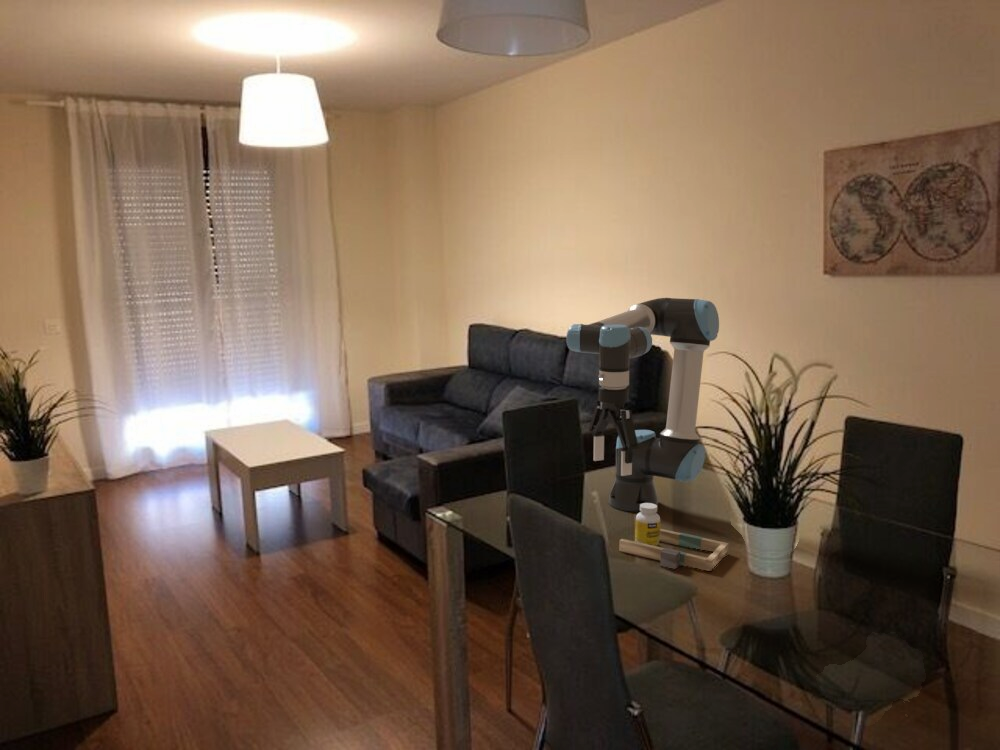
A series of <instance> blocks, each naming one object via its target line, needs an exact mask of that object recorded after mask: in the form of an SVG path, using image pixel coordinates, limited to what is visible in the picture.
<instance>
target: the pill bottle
mask: <svg viewBox="0 0 1000 750" xmlns="http://www.w3.org/2000/svg"><path fill="white" fill-rule="evenodd" d="M640 511H641V512H638V513H637V514H636V517H635V529H634V530H635V533H634V541H635V542H639V543H644V544H648V545H653V546H657V547H660V541H659V537H660V529H661V517H660V515H659V514H658V506H657V505H656V504H653V503H642V504H640Z"/></svg>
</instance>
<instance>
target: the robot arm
mask: <svg viewBox="0 0 1000 750" xmlns="http://www.w3.org/2000/svg"><path fill="white" fill-rule="evenodd" d="M719 331H720V319H719V313H718V310H717V307H716V306H715V304H714V303H713V302H712V301H710V300H705V299H699V298H696V299H695V298H694V299H693V298H674V297H672V298H671V297H658V298H653V299H650V300H646V301H643V302H640V303H636V304H634V305H633V306H630V308H629V309H628V310H627V311H624V312H620V313H619V314H615V315H613V316H610V317H609V316H608V317H606V318H603V319H601V320H598V321H596V322H592V323H589V324H583V323H579V324H578V323H573V324H572V325H570V326H569V328H568V330H567V332H566V336H565V337H566V346H567V348H568V349H569V350H570V351H572V352H576V353H580V354H583V353H584V354H596V355H598V356H599V360H598V361H599V362H598V364H599V365H598V366H599V367H598V371H599V372H598V373H599V374H598V384H599V387H598V399H597V400H595V405H594V410H593V413H592V417H591V420H590V423H589V427H588V431H589V432H590V433H591V435H592V436H593V453H592V454H593V460H592V461H594V462H597V461H604V460H605V457H604V456H605V435H604V434H605V430H606V429H607V427H608V425H609V424H612V426H613V427H614V428H615V429H616V432H617V435H618V436H617V437H616V446H615V475H614V476H615V479H614V482H613V485H612V488H611V490H610V493H609V495H608V496H609V498H608V504H609V505H610V506H611V507H613V508H615V509H617V510H621V511H625V512H634V513H635V512H638V513H640V512H641V511H640V504H642V503H653V504H656V505H657V507H658V506H659V496H658V493H657V490H656V485H655V483H654V477H658V478H661V479H662V478H664V479H668V480H674V481H676V482H686V483H690V482H693V481H695V480H696V479H697V478H698V477H699V475H700V473H701V471H702V469H703V465H704V462H705V460H706V459H705V458H706V448H705V446H704V445H702V444H701V443H700V435H698V433H697V432H696V428H697V416H698V408H699V407H698V406H699V401H700V400H699V399H700V388H701V382H702V381H701V378H702V371H703V362H704V354H705V351H706V350H707V349H708V348H709V347H711V346H710V343H711V342H712V341H715V340H716V339H717V338H718V334H719ZM652 336H660V337H661V336H662V337H668V338H669V344H670V345H671V347H673V360H672V368H671V378H670V387H669V395H668V404H667V405H668V407H667V414H666V425H665V428H664V429H663V430H662V431H661V432H660V433H659V437H656V432H655V431H653V430H650V429H635V424H634V420H633V412H632V409H627V410H626V409H625V404H627V403H628V402H629V398H630V396H629V395H630V394H629V393H630V392H629V391H630V388H629V385H630V359H635V358H639V357H642V356H644V355H645V354H646V353H648V352H650V349H651V348H652V345H653V337H652Z"/></svg>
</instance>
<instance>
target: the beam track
mask: <svg viewBox="0 0 1000 750" xmlns="http://www.w3.org/2000/svg"><path fill="white" fill-rule="evenodd" d="M659 542H662V543H666V544H671V545H675V546H679V547H684V548H688V547H689V549H693V548H696V549H695V550H697V549H701V550H700V551H702V550H708V551H714V552H713V553H710V554H709V555H708V557H705V556H701V555H698V554H693V553H688V552H685V551H681V550H677V549H673V548H668V547H661V546H659V547H657V546H653V545H648V544H644V543H639V542H635V540H630V539H626V538H620V539H619V544H618V545H619V546H618V549H619V550H618V551H619V552H622V553H627V554H629V555H630V554H631V555H635V556H639V557H643V558H648V559H652V560H656V561H660V563H659V565H660V567H661V566H663V567H662V568H665V567H671V568H674V569H675V568H676V567H678V566H679V565H680V566H681V565H685V566H684V567H686V566H689V567H688V568H690V567H696V568H701V569H702V568H703V569H709V570H711V569H712V568H714V566H716V564H717V563H718V562H719V561H720V560H721V559H722V557H723V556H724V555H725V553H726V552H727V551H728V552H729V542H728V543H727V542H724V541H722V540H721V541H720V540H719V541H718V540H714V539H711V538H707V537H702V536H699V535H693V534H689V533H685V532H676V531H672V530H668V529H663V528H660V537H659ZM680 566H679V567H680ZM679 567H678V568H679ZM716 567H717V566H716ZM714 569H715V568H714Z"/></svg>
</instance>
